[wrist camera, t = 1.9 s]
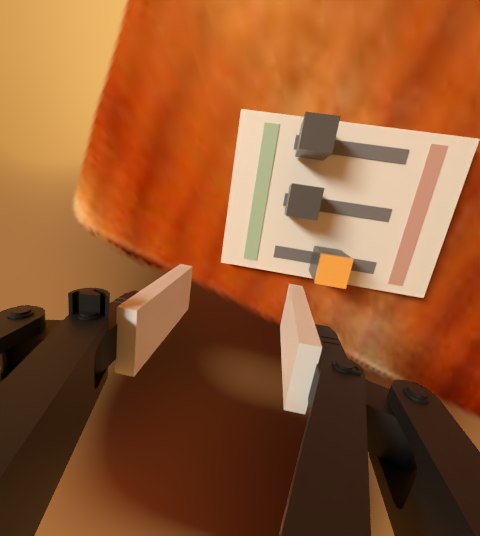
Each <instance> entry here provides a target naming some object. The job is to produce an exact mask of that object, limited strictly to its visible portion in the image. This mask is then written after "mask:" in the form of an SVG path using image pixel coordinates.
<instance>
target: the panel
mask: <svg viewBox="0 0 480 536" xmlns="http://www.w3.org/2000/svg"><path fill="white" fill-rule="evenodd" d="M303 118H304V117H301V116H293V115H285V114H277V113H269V112H261V111H253V110H245V109H241V115H240V122H239V130H238V137H237V145H236V152H235V160H234V167H233V175H232V182H231V190H230V197H229V205H228V212H227V220H226V227H225V235H224V242H223V250H222V257H221V262H222V263H227V264H233V265H239V266H244V267H250V268H256V269H261V270H267V271H273V272H278V273H284V274H290V275H295V276H301V277H307V278H312V276H311V274H310V272H309V267H310V262H311V258H312V253H313V249H314V246H320V247H326V248H332V249H339V250H342V251H343V252H344V253H346V254H347V255H348V256H350V257H351V258H352V259H354V260H353V264H352V268H351V272H350V275H349V279H348V283H347V285H352V286H358V287H363V288H369V289H375V290H380V291H386V292H392V293H397V294H403V295H409V296H414V297H420V298H424V295H425V293H426V290H427V287H428V284H429V281H430V278H431V276H432V273H433V270H434V267H435V264H436V261H437V259H438V256H439V253H440V250H441V247H442V244H443V242H444V239H445V236H446V233H447V230H448V227H449V225H450V222H451V219H452V216H453V213H454V210H455V208H456V205H457V202H458V199H459V196H460V193H461V191H462V188H463V185H464V182H465V179H466V176H467V174H468V171H469V168H470V165H471V162H472V159H473V157H474V154H475V151H476V148H477V145H478V142H479V140H480V139H476V138H468V137H460V136H452V135H444V134H436V133H428V132H420V131H412V130H404V129H397V128H389V127H381V126H373V125H365V124H357V123H349V122H341V121H339V125H338V130H337V134H336V139H335V143H334V148H333V152H332V154H331V155H330V156H328V157H327V158H326V159H325V160H324V161H323V160H316V159H308V158H301V157H295V154H296V149H297V144H298V138H299V133H300V128H301V124H302V121H303ZM292 183H294V184H301V185H308V186H314V187H321V188H324V193H323V197H322V202H321V206H320V211H319V215H318V220H311V219H304V218H298V217H292V216H286V215H285V214H284V213H285V207H286V202H287V197H288V191H289V186H290V185H291V184H292Z"/></svg>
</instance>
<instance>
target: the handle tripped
mask: <svg viewBox="0 0 480 536" xmlns="http://www.w3.org/2000/svg"><path fill="white" fill-rule="evenodd" d="M353 260H354V259H352V258H351V257H350V256H348V255H347V254H346V253H344V252H343V251H342V250H339V249H332V248H326V247H320V246H314V249H313V253H312V258H311V262H310V267H309V272H310V274H311V276H312V279H313V281H314V283H315V284H320V285H326V286H331V287H337V288H343V289H346V287H347V283H348V279H349V275H350V272H351V268H352V264H353Z"/></svg>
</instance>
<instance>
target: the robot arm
mask: <svg viewBox="0 0 480 536" xmlns="http://www.w3.org/2000/svg"><path fill="white" fill-rule="evenodd" d="M192 268H193V266H188V265H182V264H180V265H178V266H177V267H175V268H174V269H172V270H171V271H169V272H168V273H166V274H165V275H163V276H162V277H161V278H159V279H158V280H156V281H154V282H153V283H151V284H150V285H148V286H147V287H145V288H144V289H143V290H141V291H132V292H129V293H125V294H124V295H122V296H120V297H119V298H118V299H116V300H114V301H113V302H111V303H109V298H110V297H109V296H110V293H109V292H108V291H106V290H104V289H99V288H83V289H77V290H74V291H72V292H70V293H68V297H69V315H68V316H67V317H66V318H65V319H64V320H45V310H44V309H43V308H40V307H37V306H29V305H25V306H17V307H14V308H10V309H7V310H4V311H1V312H0V536H34V535H35V533H36V531H37V529H38V526H39V524H40V522H41V520H42V518H43V516H44V513H45V511H46V509H47V507H48V505H49V503H50V500H51V498H52V496H53V494H54V492H55V490H56V488H57V485H58V483H59V481H60V479H61V477H62V475H63V472H64V470H65V468H66V466H67V464H68V462H69V460H70V457H71V455H72V453H73V451H74V448H75V446H76V444H77V442H78V440H79V437H80V436H81V434H82V431H83V429H84V427H85V425H86V423H87V421H88V418H89V416H90V414H91V412H92V410H93V408H94V406H95V403H96V401H97V399H98V397H99V395H100V392H101V390H102V388H103V386H104V384H105V382H106V379H107V376H108V366H109V365H110V364H111V363H112V362H113V361H114V360H115V373H119V374H124V375H128V376H133V377H134V376H135V375H136V373H137V372H138V371H139V370H140V368H141V367H142V366H143V365H144V363H145V362H146V361H147V360H148V358H149V357H150V356H151V355H152V353H153V352H154V351H155V350H156V348H157V347H158V346H159V344H160V343H161V342H162V341H163V340H164V338H165V337H166V336H167V335H168V333H169V332H170V331H171V330H172V328H173V327H174V326H175V325H176V323H177V322H178V321H179V320H180V318H181V317H182V316H183V314H184V313H185V312H186V311H187V310H188V305H189V297H190V287H191V278H192ZM280 330H281V331H280V332H281V355H282V379H283V401H284V410H287V411H292V412H297V413H301V414H305V412H306V408H307V405H308V403H309V408H310V413H309V417H308V420H307V424H306V428H305V432H304V435H303V440H302V444H301V448H300V452H299V456H298V461H297V464H296V468H295V473H294V477H293V481H292V485H291V489H290V493H289V497H288V501H287V505H286V509H285V513H284V517H283V521H282V525H281V529H280V533H279V536H371V528H370V527H371V526H370V500H369V499H370V498H369V472H368V452H369V457H370V460H371V463H372V466H373V469H374V472H375V475H376V479H377V482H378V485H379V488H380V491H381V494H382V497H383V501H384V504H385V507H386V510H387V513H388V516H389V519H390V522H391V526H392V528H393V532H394V535H395V536H480V452H479V451H478V449H477V448H476V447H475V445H474V444H473V443H472V441H471V440H470V439H469V437H468V436H467V435H466V434H465V432H464V431H463V430H462V428H461V427H460V426H459V425H458V423H457V422H456V421H455V419H454V418H453V417H452V415H451V414H450V413H449V411H448V410H447V409H446V407H445V406H444V405H443V404H442V402H441V401H440V400H439V399H438V398H437V397H436V396H435V395H434V394H433V393H432V392H430V391H429V390H427V389H426V388H425V387H423V386H421V385H419V384H417V383H415V382H410V381H407V380H395V381H394V382H393V383H392V385H391V388H390V389H387V388H385V387H382V386H380V385H377V384H375V383H372V382H370V381H368V380H366V379H365V374H364V371H363V369H362V368H361V367H360V366H359V365H358V364H356V363H355V362H353V361H351V360H349V359H348V358H347V356H346V354H345V352H344V350H343V348H342V346H341V343H340V341H339V339H338V337H337V335H336V333H335V332H334V331H333V330H332V329H331V328H330V327H327V326H322V325H317V324H315V323H314V320H313V317H312V314H311V311H310V308H309V305H308V302H307V299H306V295H305V292H304V289H303V286H299V285H294V284H289V287H288V292H287V297H286V301H285V306H284V311H283V316H282V321H281V326H280Z"/></svg>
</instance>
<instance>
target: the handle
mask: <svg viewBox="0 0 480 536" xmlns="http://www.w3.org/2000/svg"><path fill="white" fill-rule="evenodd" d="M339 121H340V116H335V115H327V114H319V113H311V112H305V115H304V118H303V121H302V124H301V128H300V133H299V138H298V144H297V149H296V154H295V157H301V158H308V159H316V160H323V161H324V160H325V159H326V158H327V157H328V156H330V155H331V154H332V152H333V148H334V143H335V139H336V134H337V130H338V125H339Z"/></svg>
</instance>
